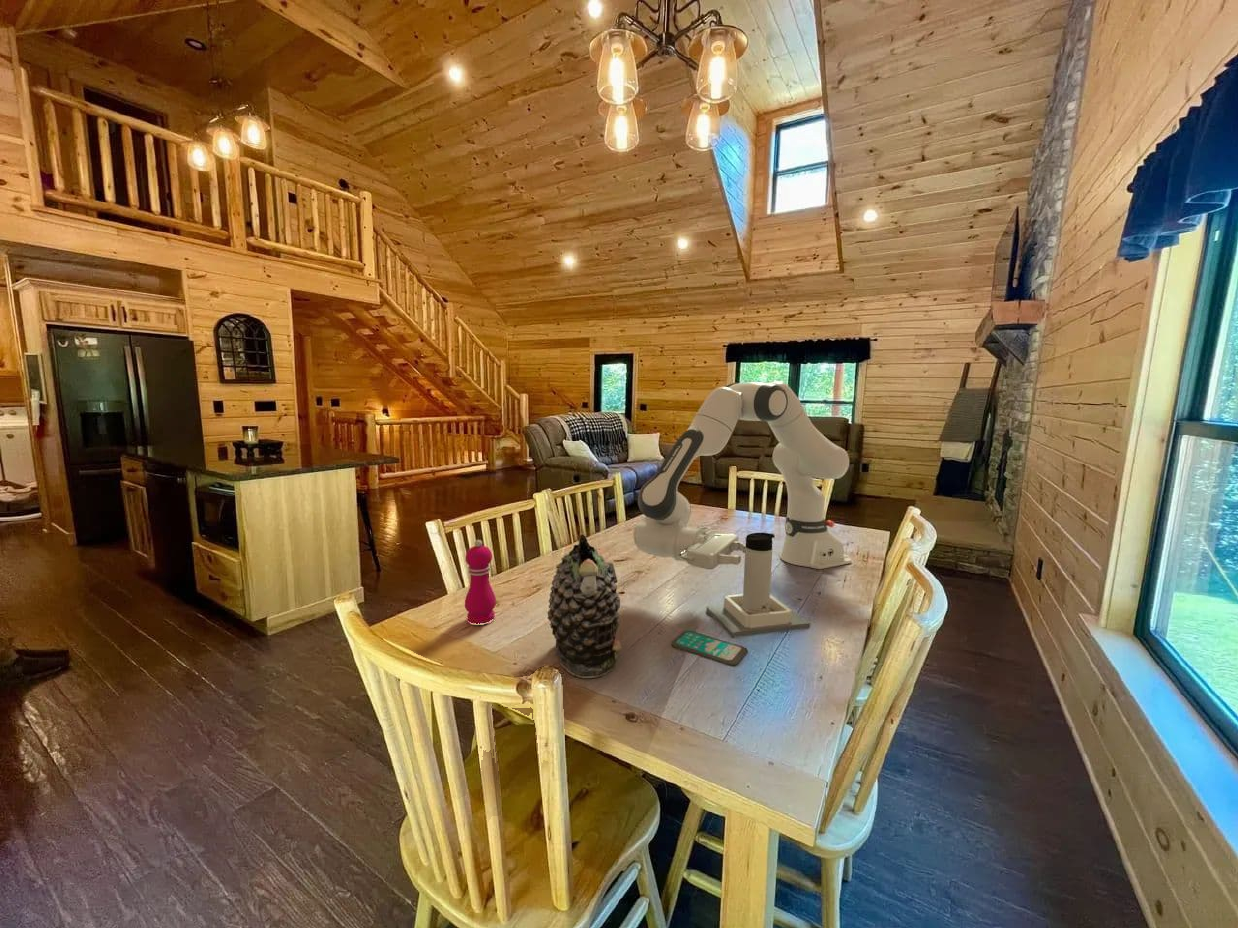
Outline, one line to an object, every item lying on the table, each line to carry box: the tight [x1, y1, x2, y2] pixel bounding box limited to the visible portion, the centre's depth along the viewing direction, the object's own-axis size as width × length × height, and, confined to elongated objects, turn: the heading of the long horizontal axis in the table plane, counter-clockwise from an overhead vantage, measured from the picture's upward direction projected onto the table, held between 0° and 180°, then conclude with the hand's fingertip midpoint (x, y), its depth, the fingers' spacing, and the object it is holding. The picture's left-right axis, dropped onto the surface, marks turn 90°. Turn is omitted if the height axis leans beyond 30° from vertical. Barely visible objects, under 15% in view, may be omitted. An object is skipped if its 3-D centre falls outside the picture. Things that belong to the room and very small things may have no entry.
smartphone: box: [671, 630, 749, 668], centre depth 107 cm, size 9×1×15 cm
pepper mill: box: [464, 539, 497, 624], centre depth 117 cm, size 7×7×20 cm
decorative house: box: [547, 534, 622, 679], centre depth 101 cm, size 21×15×25 cm
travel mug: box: [742, 532, 775, 615], centre depth 119 cm, size 6×7×20 cm
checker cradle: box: [705, 593, 811, 639], centre depth 120 cm, size 20×14×4 cm
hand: (745, 554), depth 120 cm, fingers open, 8 cm apart
